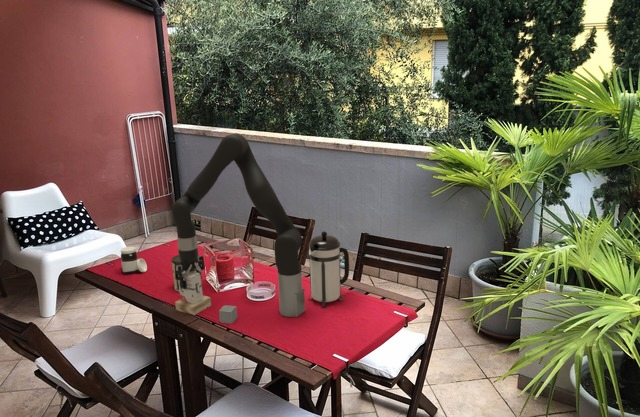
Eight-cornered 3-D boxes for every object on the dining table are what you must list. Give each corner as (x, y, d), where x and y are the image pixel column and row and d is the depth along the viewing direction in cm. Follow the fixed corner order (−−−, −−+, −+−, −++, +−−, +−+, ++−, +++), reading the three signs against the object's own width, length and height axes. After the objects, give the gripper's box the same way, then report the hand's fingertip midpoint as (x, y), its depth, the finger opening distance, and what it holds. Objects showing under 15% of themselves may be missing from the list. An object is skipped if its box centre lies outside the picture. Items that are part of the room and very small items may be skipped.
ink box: (179, 300, 208) (176, 273, 205) (188, 296, 212) (185, 269, 209) (195, 305, 204) (192, 277, 201) (204, 300, 208) (201, 273, 205)
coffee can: (202, 285, 231) (199, 256, 227) (184, 293, 223) (181, 263, 219) (188, 280, 237) (185, 252, 233) (169, 288, 229) (166, 258, 225)
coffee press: (343, 309, 204) (342, 238, 196) (304, 306, 207) (301, 236, 200) (349, 291, 221) (348, 225, 213) (313, 289, 224) (311, 223, 216)
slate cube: (237, 318, 200) (236, 306, 198) (231, 324, 195) (230, 312, 194) (225, 316, 201) (224, 305, 200) (219, 322, 196) (218, 310, 195)
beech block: (211, 306, 211) (210, 297, 210) (194, 316, 203) (193, 307, 202) (193, 301, 216) (192, 292, 215) (176, 311, 208) (175, 302, 207)
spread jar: (121, 269, 254) (118, 247, 251) (145, 265, 258) (142, 243, 255) (123, 277, 243) (120, 254, 240) (148, 273, 248) (145, 250, 245)
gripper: (181, 253, 195) (185, 293, 199) (207, 242, 207) (210, 280, 211) (167, 250, 199) (171, 289, 203) (193, 240, 210) (197, 277, 215)
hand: (191, 284), depth 207 cm, fingers open, 8 cm apart
